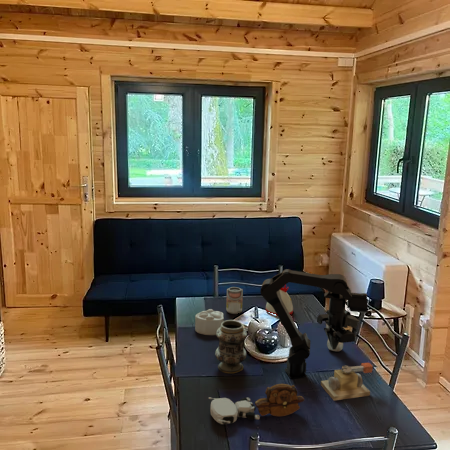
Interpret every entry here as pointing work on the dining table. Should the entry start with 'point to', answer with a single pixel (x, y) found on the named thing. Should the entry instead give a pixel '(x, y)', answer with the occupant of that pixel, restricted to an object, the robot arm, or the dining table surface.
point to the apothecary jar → (231, 346)
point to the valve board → (345, 393)
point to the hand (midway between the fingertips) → (333, 349)
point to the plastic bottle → (338, 348)
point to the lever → (358, 368)
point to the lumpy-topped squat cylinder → (208, 322)
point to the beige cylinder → (234, 300)
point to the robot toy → (232, 410)
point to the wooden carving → (279, 400)
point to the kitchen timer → (286, 301)
